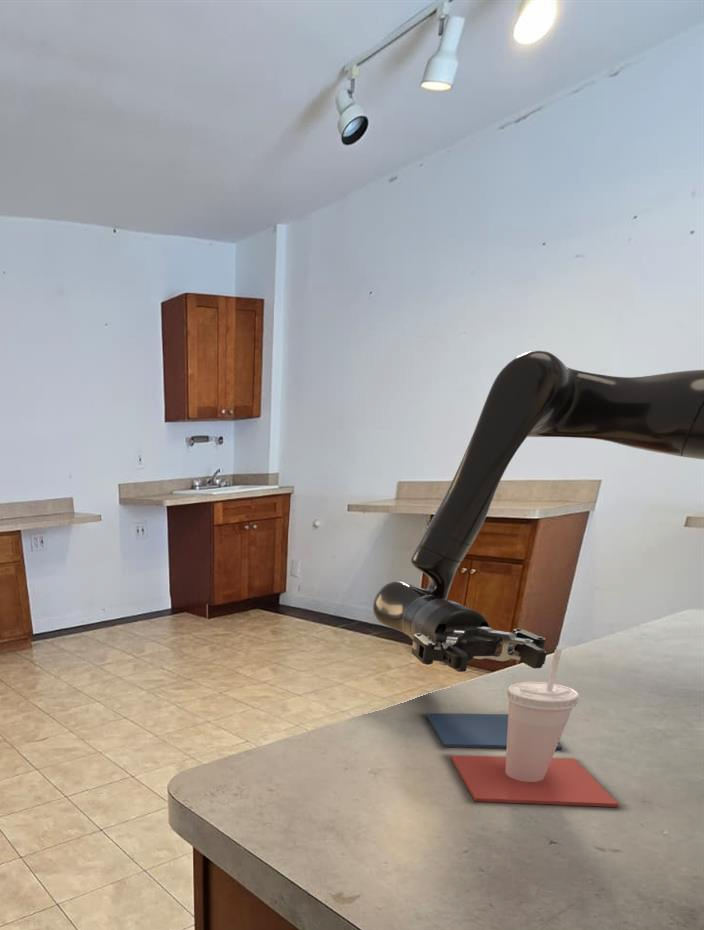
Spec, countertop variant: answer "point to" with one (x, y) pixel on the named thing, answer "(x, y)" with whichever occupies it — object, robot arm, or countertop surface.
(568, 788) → the red mat
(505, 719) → the blue mat
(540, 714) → the smoothie
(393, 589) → the robot arm
